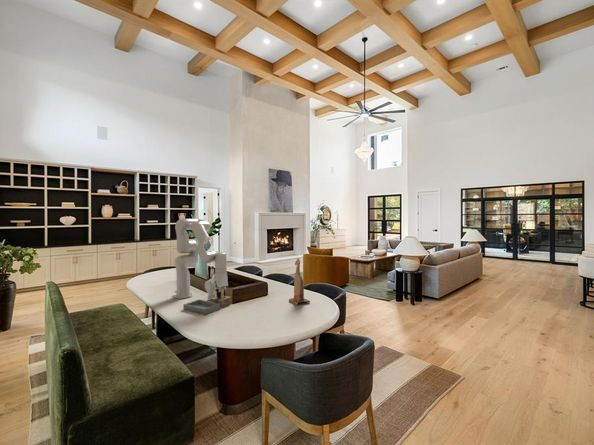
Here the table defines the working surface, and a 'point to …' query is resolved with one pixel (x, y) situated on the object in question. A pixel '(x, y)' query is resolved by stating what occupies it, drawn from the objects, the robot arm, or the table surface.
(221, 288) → the dowel
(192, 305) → the tray
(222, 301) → the holder block
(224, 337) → the table surface
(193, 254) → the robot arm
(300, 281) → the bird sculpture
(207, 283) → the shell sculpture
